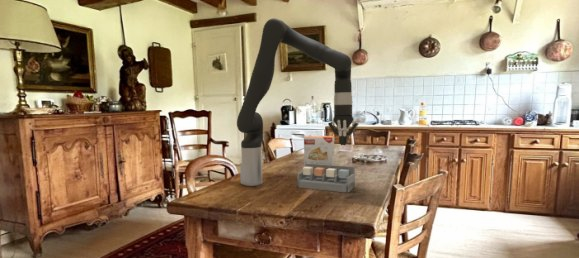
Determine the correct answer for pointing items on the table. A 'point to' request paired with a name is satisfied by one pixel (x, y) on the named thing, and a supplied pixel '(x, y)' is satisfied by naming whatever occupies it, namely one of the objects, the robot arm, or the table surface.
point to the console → (327, 179)
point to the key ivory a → (307, 170)
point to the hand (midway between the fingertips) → (343, 144)
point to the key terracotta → (319, 171)
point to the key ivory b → (331, 172)
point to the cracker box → (319, 150)
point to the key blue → (343, 173)
